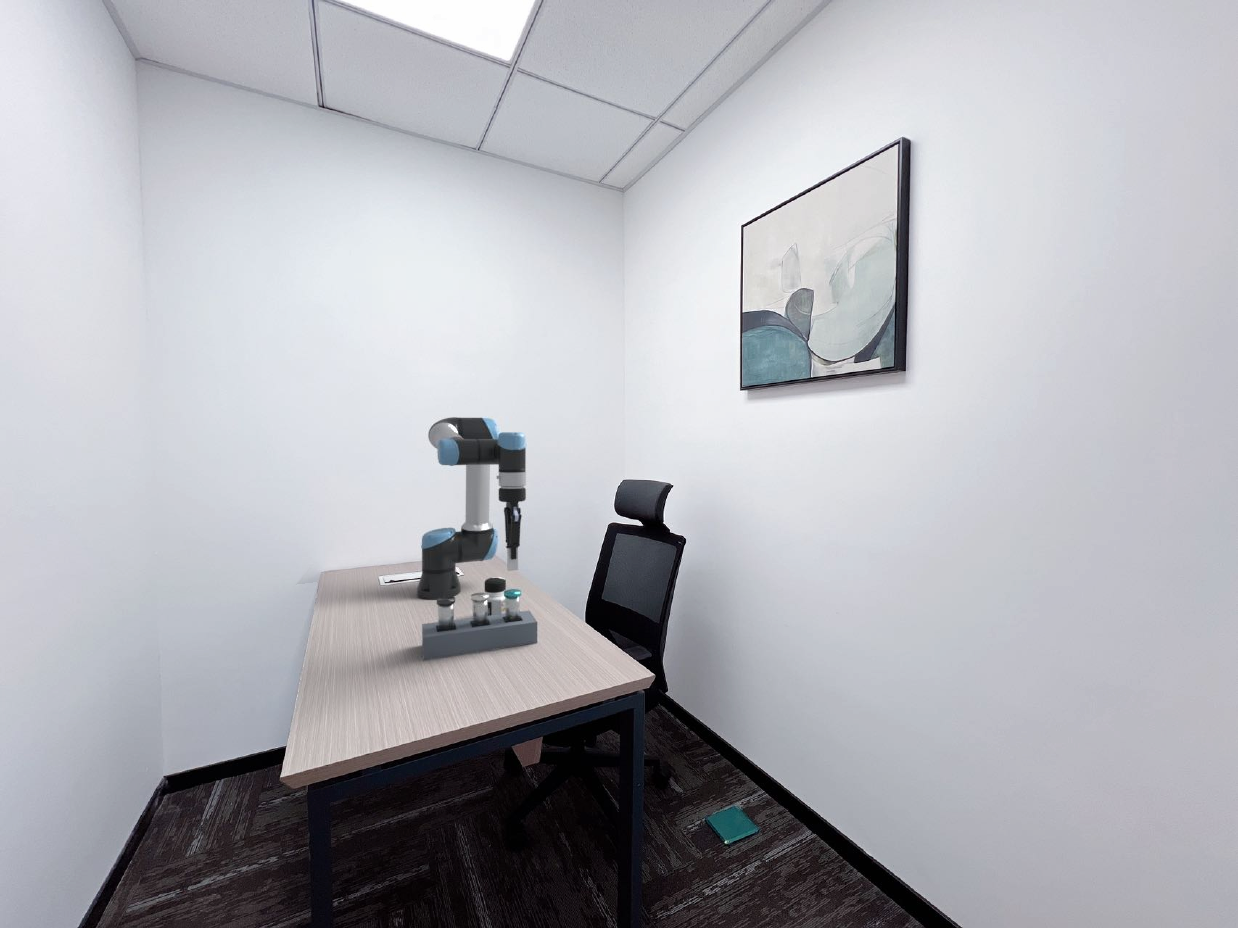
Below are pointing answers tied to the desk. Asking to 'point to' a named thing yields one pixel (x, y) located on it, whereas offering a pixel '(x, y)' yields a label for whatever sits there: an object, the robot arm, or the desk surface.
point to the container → (495, 595)
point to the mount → (478, 636)
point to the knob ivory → (480, 609)
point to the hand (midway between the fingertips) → (512, 569)
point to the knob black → (445, 613)
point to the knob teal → (512, 605)
